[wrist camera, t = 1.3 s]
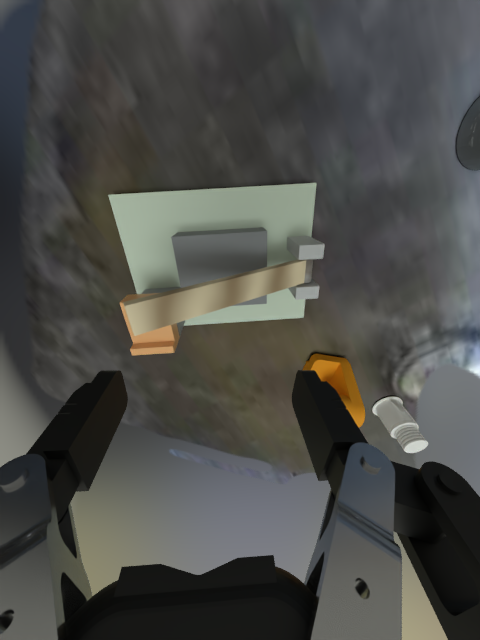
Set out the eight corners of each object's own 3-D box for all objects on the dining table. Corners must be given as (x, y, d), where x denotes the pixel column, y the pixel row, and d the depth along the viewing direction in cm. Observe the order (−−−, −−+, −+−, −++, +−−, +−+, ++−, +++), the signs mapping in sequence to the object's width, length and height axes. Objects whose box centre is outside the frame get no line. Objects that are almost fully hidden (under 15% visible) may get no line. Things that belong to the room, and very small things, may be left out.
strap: (306, 256, 30) (316, 258, 29) (304, 278, 31) (313, 281, 30) (122, 301, 20) (125, 307, 19) (131, 330, 21) (135, 337, 20)
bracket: (311, 350, 45) (336, 397, 35) (344, 355, 46) (378, 402, 36) (293, 389, 50) (310, 440, 40) (323, 393, 51) (348, 443, 41)
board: (311, 183, 31) (337, 179, 24) (300, 312, 41) (316, 338, 33) (115, 194, 31) (78, 194, 23) (150, 322, 40) (132, 350, 33)
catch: (169, 292, 29) (162, 304, 26) (179, 337, 33) (174, 352, 30) (127, 294, 29) (115, 307, 26) (141, 339, 33) (132, 355, 30)
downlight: (374, 396, 52) (403, 437, 44) (405, 392, 52) (440, 433, 44) (368, 417, 56) (394, 459, 48) (397, 413, 56) (427, 455, 48)
